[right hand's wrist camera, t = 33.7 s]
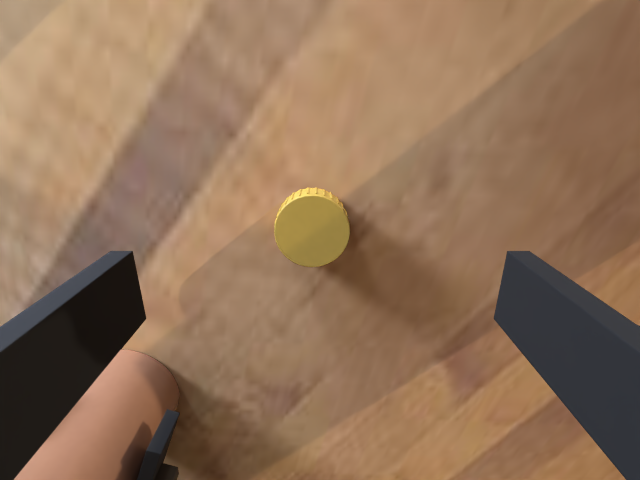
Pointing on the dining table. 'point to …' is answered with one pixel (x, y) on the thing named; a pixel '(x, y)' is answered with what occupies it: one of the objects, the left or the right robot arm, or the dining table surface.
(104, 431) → the bottle
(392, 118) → the dining table surface
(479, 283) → the dining table surface
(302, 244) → the cap
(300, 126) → the dining table surface
